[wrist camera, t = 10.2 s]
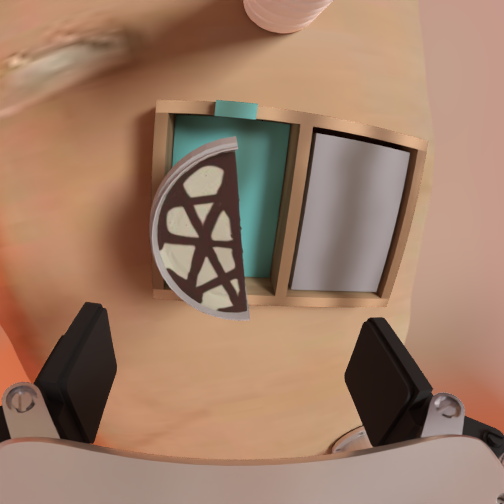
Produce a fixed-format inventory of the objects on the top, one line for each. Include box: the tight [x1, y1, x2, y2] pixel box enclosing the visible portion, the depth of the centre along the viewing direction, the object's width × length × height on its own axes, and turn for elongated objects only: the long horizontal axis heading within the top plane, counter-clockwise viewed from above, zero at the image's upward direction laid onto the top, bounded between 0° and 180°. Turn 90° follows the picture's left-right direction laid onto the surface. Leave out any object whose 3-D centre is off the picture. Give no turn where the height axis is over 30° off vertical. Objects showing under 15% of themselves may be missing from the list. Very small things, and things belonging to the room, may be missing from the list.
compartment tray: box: [151, 100, 428, 307], centre depth 27 cm, size 23×17×4 cm
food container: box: [149, 136, 250, 321], centre depth 23 cm, size 12×6×10 cm, turn 3°
